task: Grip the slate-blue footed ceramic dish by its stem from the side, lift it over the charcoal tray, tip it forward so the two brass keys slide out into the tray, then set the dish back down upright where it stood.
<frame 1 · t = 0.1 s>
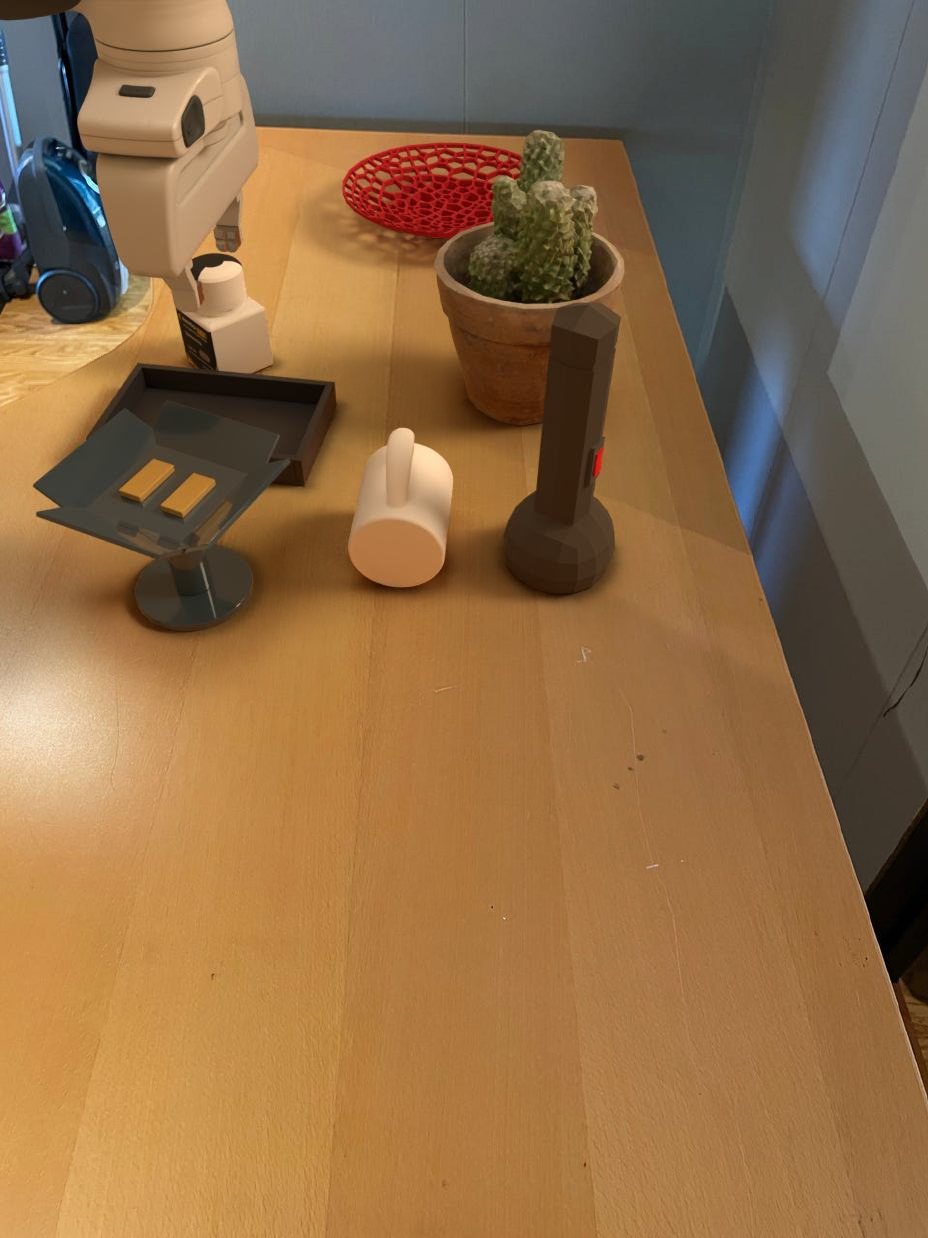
hand: (211, 276, 72), 23 cm above the table, tool pointing down, fingers open, 8 cm apart
potted plant: (519, 397, 103), on the table
medicine bottle: (231, 364, 106), on the table
mug: (404, 550, 86), on the table
key a: (148, 483, 74), point 11 cm above the table, touching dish
key b: (189, 497, 73), point 11 cm above the table, touching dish
bowl: (449, 222, 131), on the table
tray: (220, 433, 97), on the table
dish: (195, 589, 82), on the table, touching key a, key b
flashlight: (556, 559, 85), on the table
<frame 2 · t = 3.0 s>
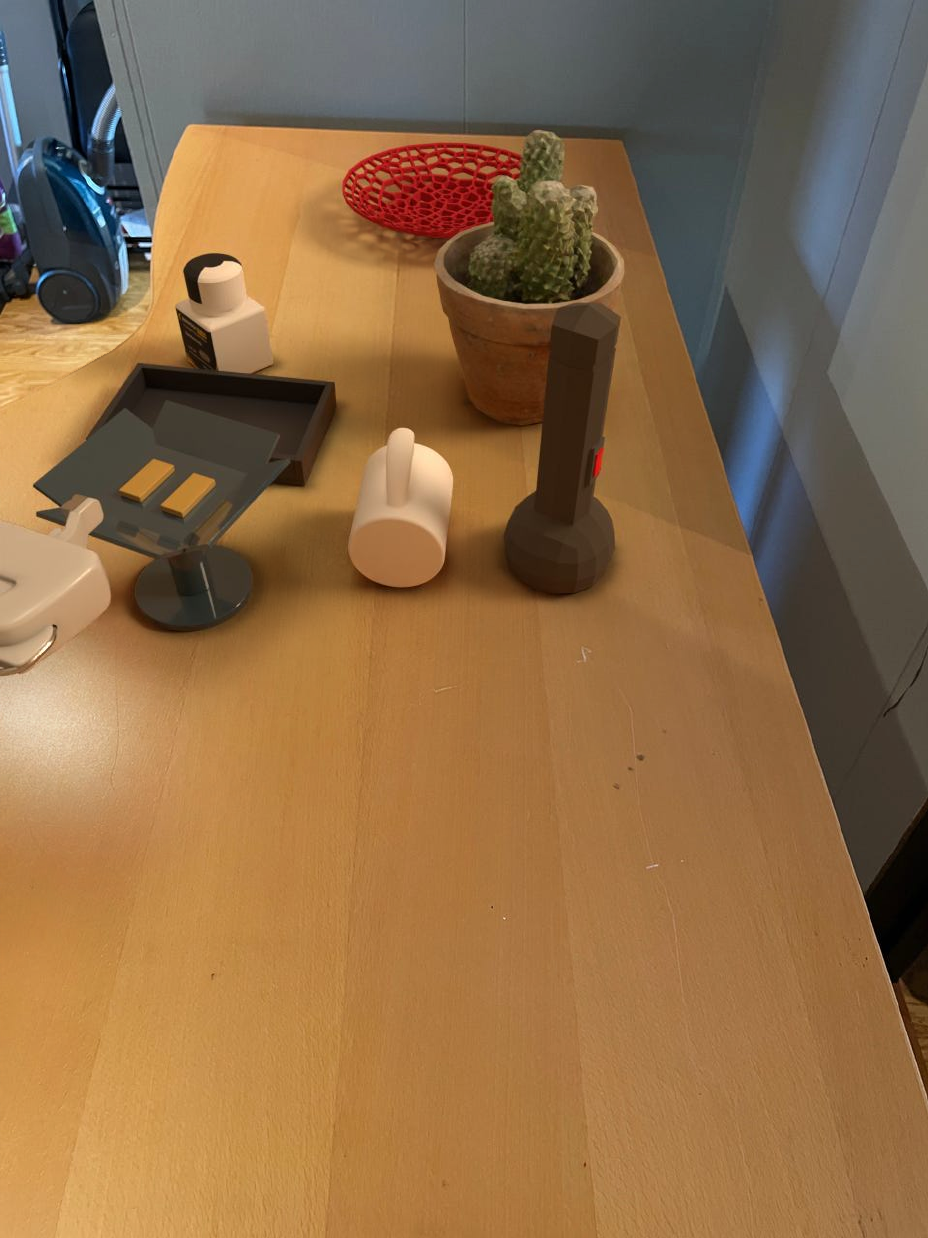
hand: (32, 485, 60), 20 cm above the table, tool horizontal, fingers open, 8 cm apart
nothing on the table moved.
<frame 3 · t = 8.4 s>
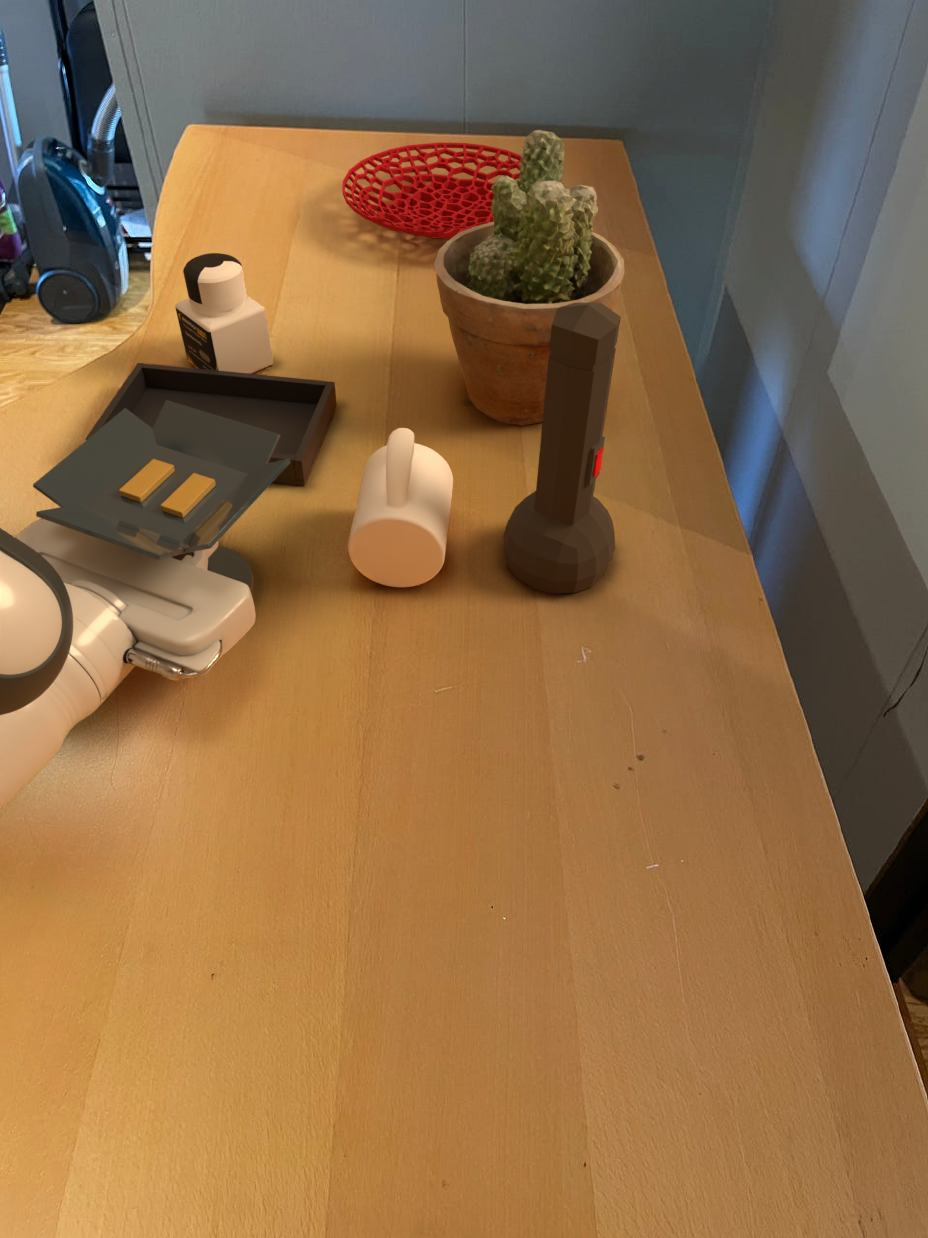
hand: (186, 527, 78), 7 cm above the table, tool horizontal, fingers closed on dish, 3 cm apart
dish: (195, 589, 82), on the table, touching gripper, key a, key b
everything else where it was.
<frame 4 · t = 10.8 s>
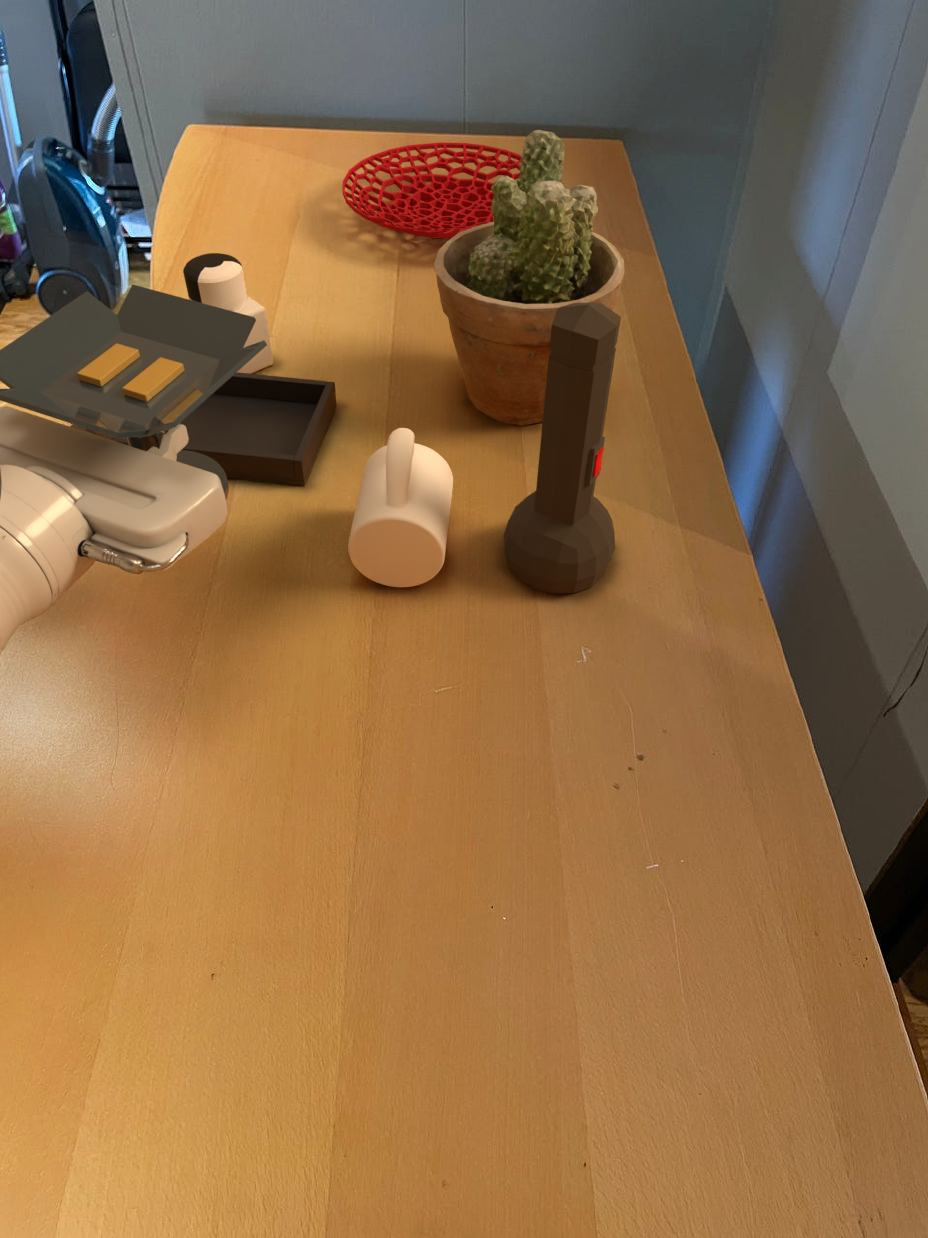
hand: (154, 421, 71), 16 cm above the table, tool horizontal, fingers closed on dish, 3 cm apart
key a: (110, 368, 67), point 21 cm above the table, touching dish
key b: (154, 382, 66), point 21 cm above the table, touching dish
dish: (165, 495, 75), point 10 cm above the table, touching gripper, key a, key b
everything else where it was.
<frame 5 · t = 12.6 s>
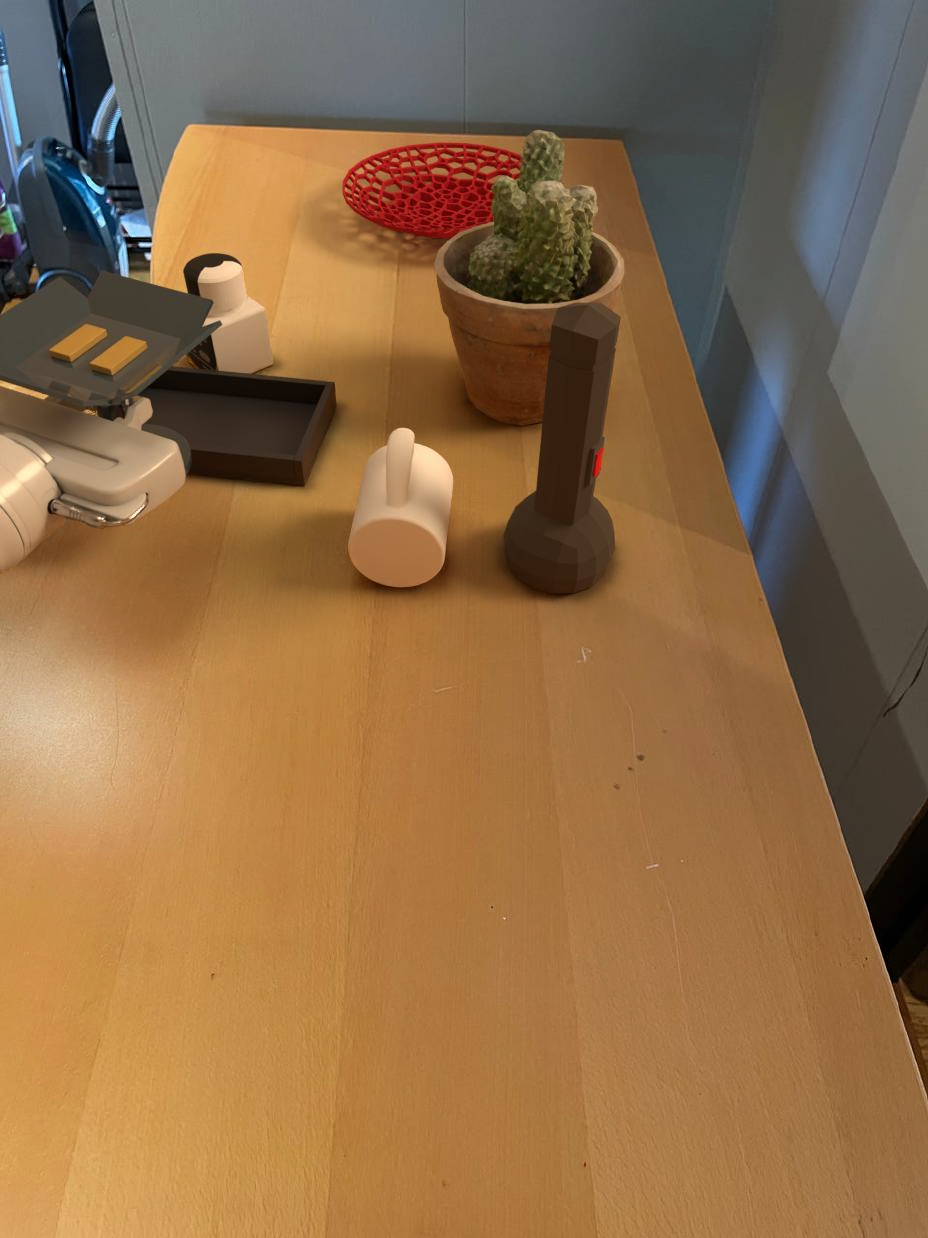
hand: (121, 396, 77), 14 cm above the table, tool horizontal, fingers closed on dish, 3 cm apart
key a: (79, 345, 74), point 18 cm above the table, touching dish
key b: (120, 358, 73), point 18 cm above the table, touching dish
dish: (133, 465, 82), point 7 cm above the table, touching gripper, key a, key b
everything else where it was.
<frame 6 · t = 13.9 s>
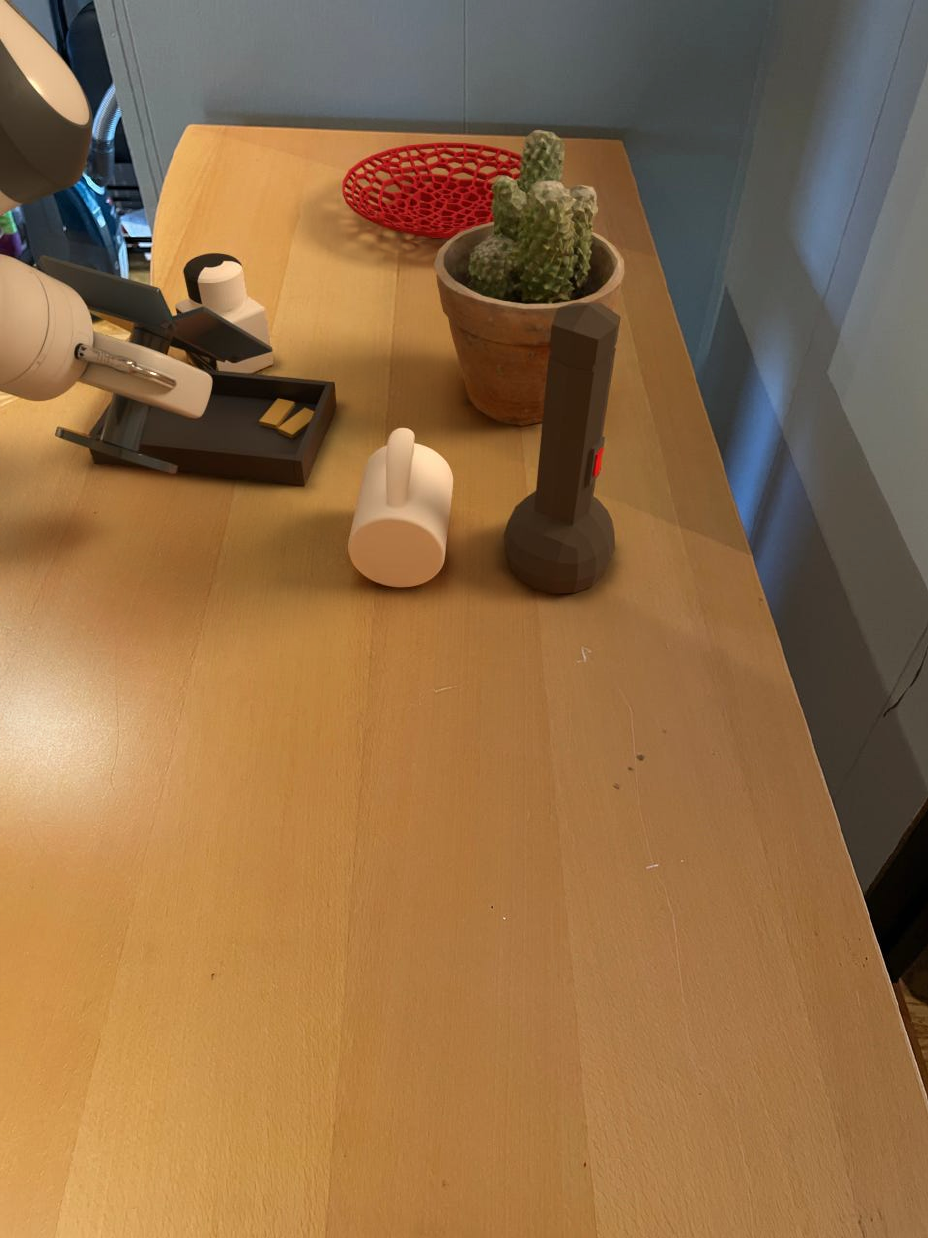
hand: (144, 382, 80), 13 cm above the table, tool tilted 45°, fingers closed on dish, 3 cm apart
key a: (277, 411, 98), point 1 cm above the table, tilted 180°, touching tray
key b: (298, 420, 97), point 1 cm above the table, tilted 180°, touching tray
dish: (116, 455, 79), point 9 cm above the table, tilted 45°, touching gripper
everything else where it was.
when the fingers open (7 cm above the table, at t = 21.1 s): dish stays where it is, on the table.
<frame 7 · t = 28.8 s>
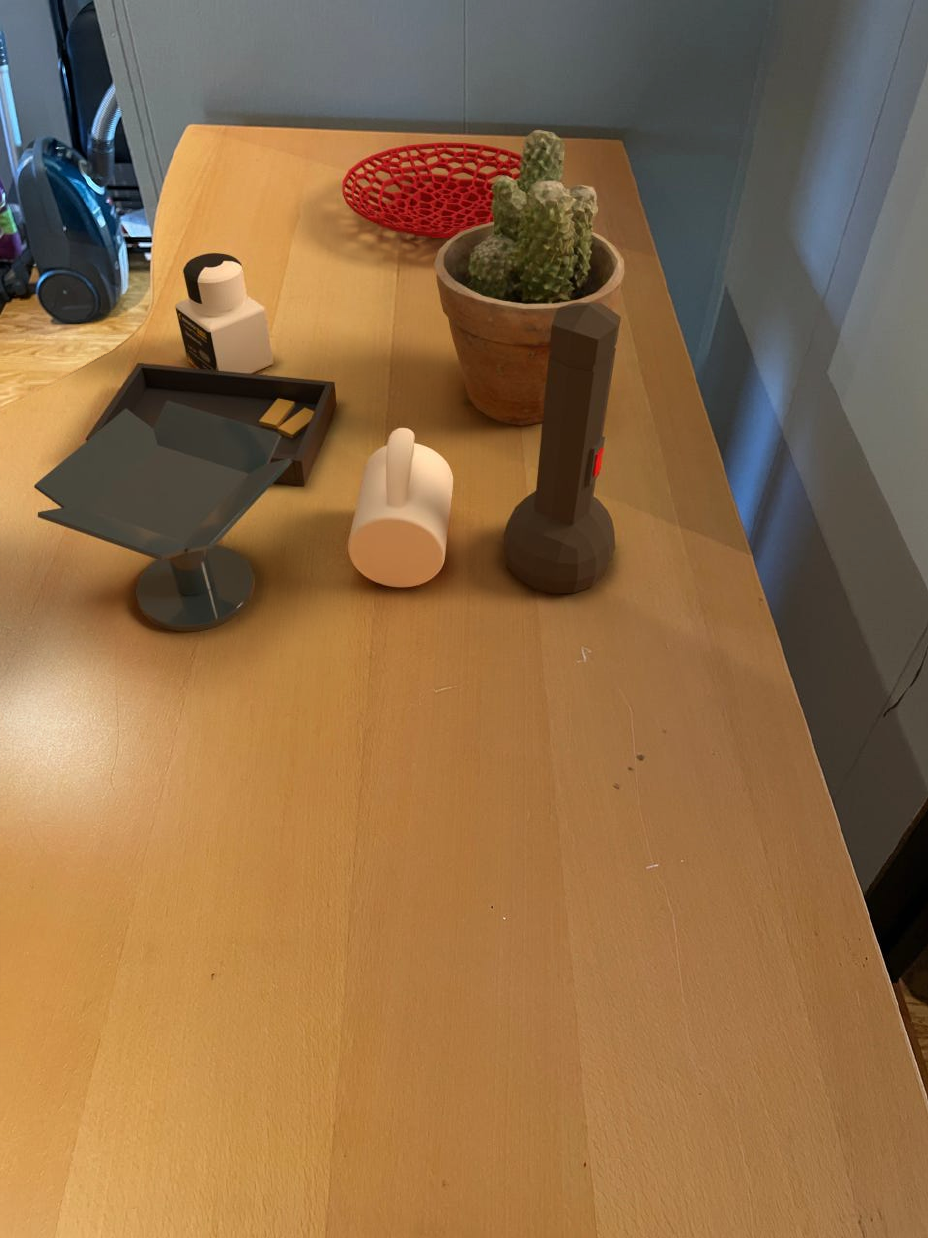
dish: (197, 589, 82), on the table
everything else where it was.
at the end: key a inside the target area in the tray (6.2 cm from its centre), point 1.2 cm above the tray's base; key b inside the target area in the tray (8.2 cm from its centre), point 1.2 cm above the tray's base; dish tilted 0° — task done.
